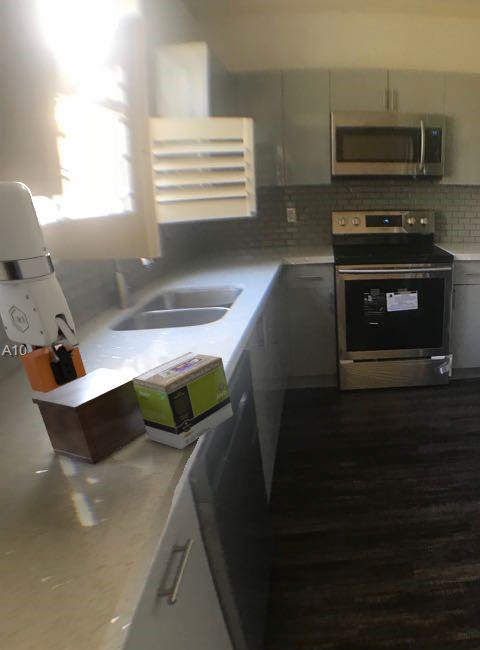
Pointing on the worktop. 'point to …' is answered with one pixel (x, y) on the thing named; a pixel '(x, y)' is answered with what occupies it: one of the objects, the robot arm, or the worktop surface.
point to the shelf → (92, 415)
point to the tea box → (183, 398)
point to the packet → (47, 369)
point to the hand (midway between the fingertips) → (59, 379)
